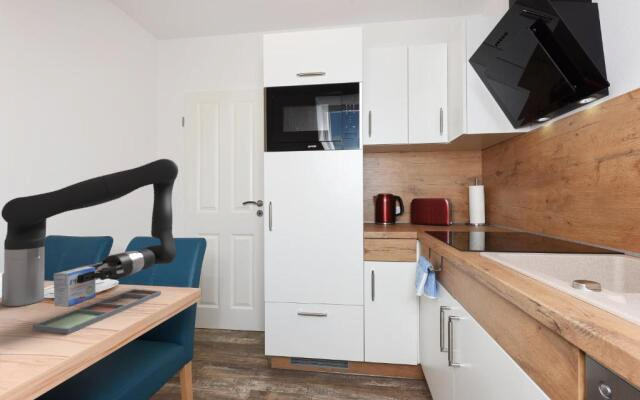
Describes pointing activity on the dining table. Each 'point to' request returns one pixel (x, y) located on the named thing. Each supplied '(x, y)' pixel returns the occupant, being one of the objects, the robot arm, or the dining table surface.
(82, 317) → the pad
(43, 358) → the dining table surface
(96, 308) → the tray
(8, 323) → the dining table surface
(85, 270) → the medicine box
